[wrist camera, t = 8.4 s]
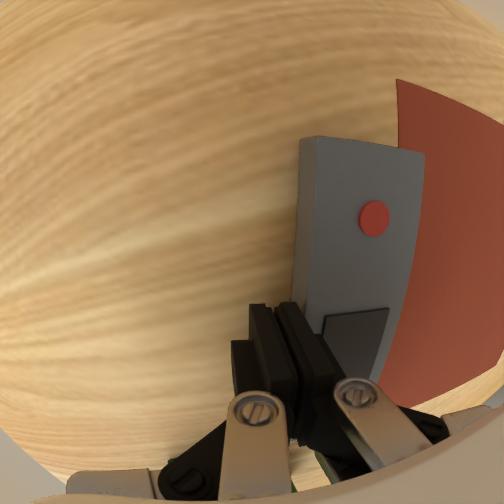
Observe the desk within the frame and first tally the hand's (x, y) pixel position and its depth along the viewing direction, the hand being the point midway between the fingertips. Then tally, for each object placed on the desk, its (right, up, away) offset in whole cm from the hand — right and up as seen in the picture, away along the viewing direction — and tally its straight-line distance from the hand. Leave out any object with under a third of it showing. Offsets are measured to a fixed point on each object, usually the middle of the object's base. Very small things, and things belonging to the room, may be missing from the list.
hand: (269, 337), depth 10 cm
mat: (+14, +1, +3) cm, 15 cm away
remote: (+3, +1, +2) cm, 4 cm away
